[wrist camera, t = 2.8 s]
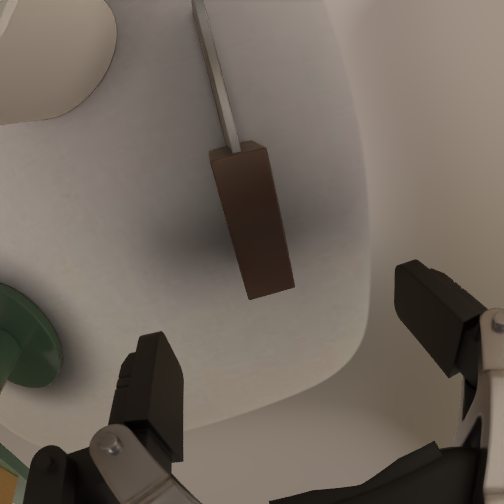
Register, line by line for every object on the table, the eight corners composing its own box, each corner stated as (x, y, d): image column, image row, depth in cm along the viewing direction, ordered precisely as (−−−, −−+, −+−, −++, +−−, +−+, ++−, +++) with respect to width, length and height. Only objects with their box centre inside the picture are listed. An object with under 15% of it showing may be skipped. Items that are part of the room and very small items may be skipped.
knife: (278, 254, 19) (295, 287, 16) (239, 264, 19) (248, 300, 16) (218, 6, 13) (223, -22, 9) (174, 16, 13) (166, -10, 9)
